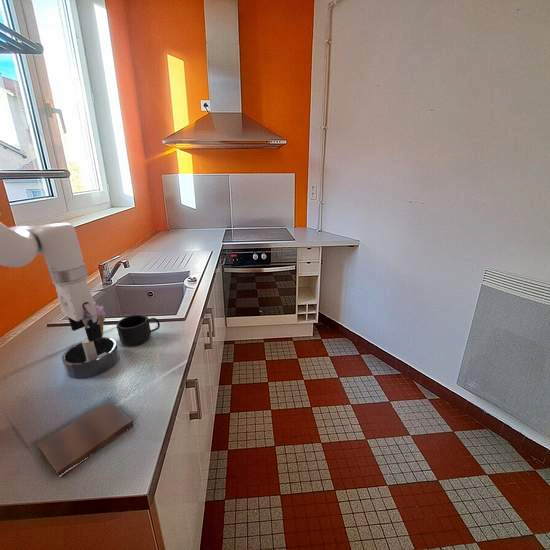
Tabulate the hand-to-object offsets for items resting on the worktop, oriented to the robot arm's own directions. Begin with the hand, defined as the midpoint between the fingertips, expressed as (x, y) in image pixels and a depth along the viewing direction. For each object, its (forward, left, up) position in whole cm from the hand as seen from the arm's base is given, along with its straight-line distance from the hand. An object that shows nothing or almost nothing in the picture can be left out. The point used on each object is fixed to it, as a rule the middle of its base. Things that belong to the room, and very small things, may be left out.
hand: (87, 333), depth 81 cm
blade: (0, 0, -9) cm, 9 cm away
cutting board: (-12, -24, -10) cm, 29 cm away
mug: (+15, +1, -10) cm, 18 cm away
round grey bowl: (0, 0, -10) cm, 10 cm away
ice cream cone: (+6, +9, -10) cm, 15 cm away
